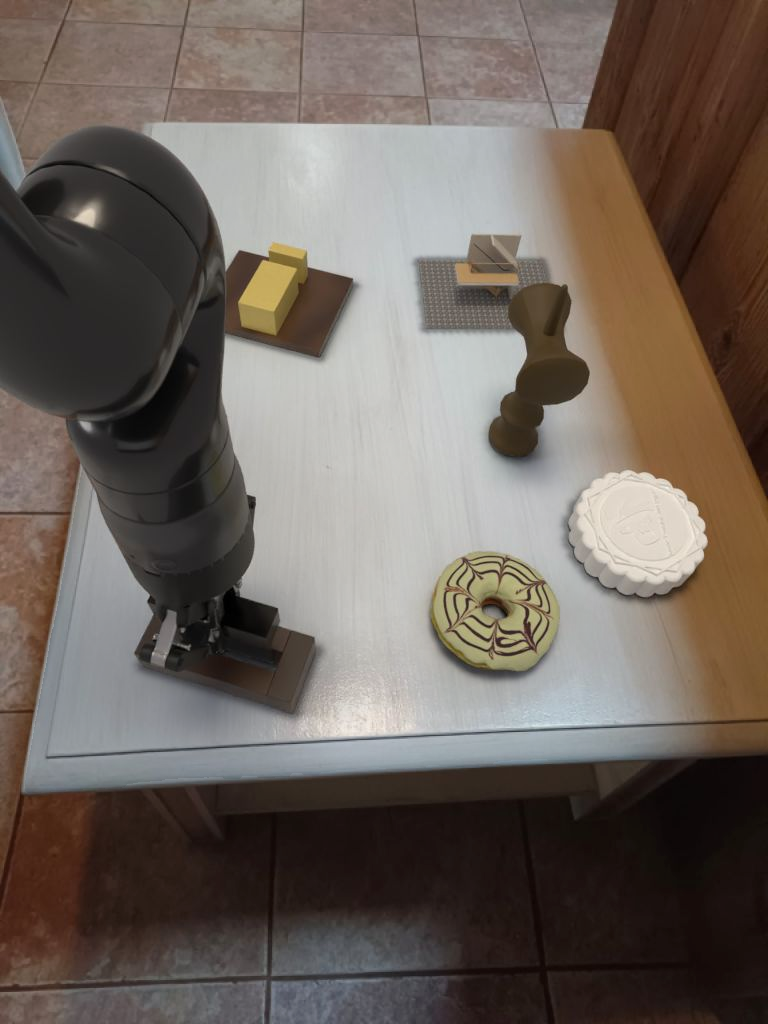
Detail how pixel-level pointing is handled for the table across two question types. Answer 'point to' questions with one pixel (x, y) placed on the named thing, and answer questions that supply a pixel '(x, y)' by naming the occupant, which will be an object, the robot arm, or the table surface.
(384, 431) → the table surface
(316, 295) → the butter board
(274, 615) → the bench knife
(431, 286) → the architectural model
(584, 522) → the mooncake
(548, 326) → the kendama
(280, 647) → the stand
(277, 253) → the butter slice
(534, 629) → the decorated donut
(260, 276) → the butter block
